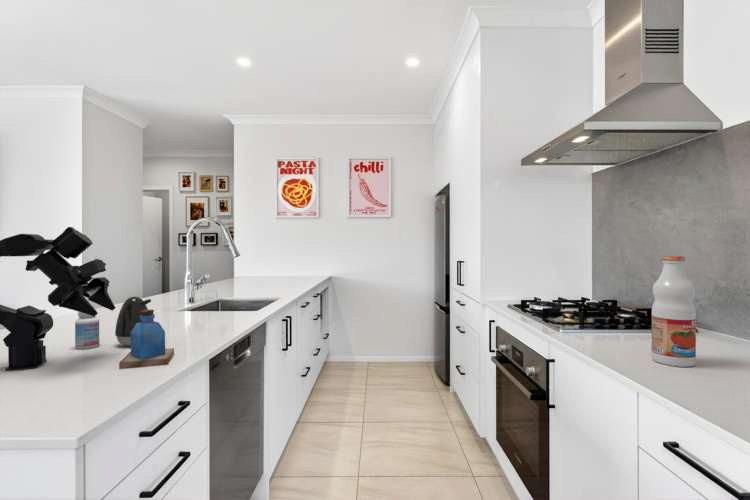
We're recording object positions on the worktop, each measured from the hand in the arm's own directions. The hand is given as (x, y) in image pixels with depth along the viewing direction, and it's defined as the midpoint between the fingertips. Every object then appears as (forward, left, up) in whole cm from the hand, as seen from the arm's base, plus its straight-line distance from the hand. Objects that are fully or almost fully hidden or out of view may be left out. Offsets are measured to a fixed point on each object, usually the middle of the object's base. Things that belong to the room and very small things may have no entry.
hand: (105, 311), depth 108 cm
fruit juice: (+143, -50, -14) cm, 152 cm away
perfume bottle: (+11, -3, -12) cm, 16 cm away
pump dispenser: (+3, +19, -14) cm, 24 cm away
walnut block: (+11, -3, -14) cm, 18 cm away
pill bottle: (-10, +20, -14) cm, 27 cm away
